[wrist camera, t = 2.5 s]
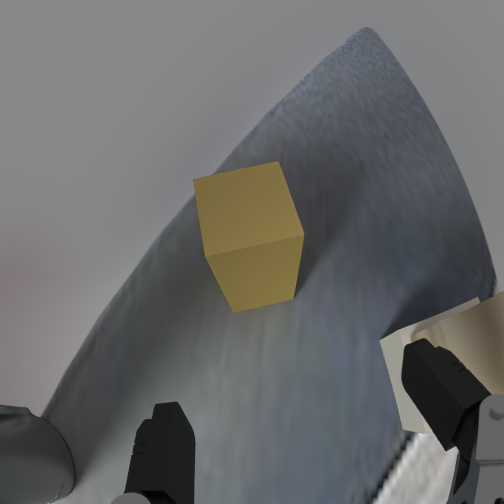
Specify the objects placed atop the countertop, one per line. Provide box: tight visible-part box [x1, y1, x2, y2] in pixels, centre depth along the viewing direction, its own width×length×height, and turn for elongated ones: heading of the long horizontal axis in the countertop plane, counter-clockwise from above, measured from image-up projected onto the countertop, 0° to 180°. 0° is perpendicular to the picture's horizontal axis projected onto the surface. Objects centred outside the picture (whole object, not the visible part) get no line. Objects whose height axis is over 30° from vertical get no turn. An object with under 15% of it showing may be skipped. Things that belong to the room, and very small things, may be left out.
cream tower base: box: [380, 297, 480, 434], centre depth 20 cm, size 8×8×4 cm
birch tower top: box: [410, 291, 504, 395], centre depth 15 cm, size 7×7×4 cm
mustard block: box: [193, 161, 305, 313], centre depth 21 cm, size 5×5×11 cm
